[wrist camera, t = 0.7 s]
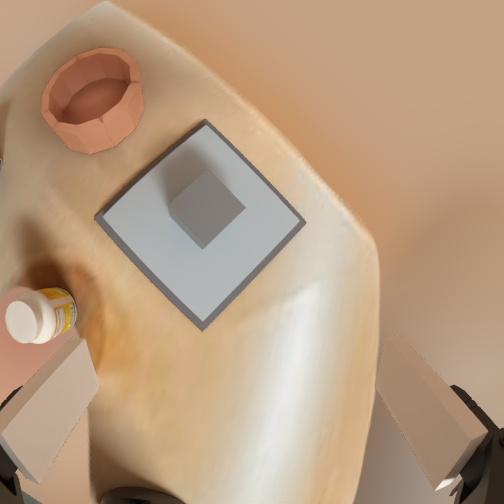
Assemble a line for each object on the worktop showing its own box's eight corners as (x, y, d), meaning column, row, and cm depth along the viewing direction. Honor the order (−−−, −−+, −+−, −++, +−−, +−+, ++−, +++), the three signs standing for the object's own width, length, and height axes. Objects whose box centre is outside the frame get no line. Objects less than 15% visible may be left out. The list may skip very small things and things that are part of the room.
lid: (202, 319, 32) (207, 334, 25) (105, 218, 30) (85, 206, 23) (296, 222, 35) (323, 212, 28) (205, 128, 33) (212, 98, 26)
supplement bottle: (85, 317, 29) (53, 335, 20) (56, 338, 28) (19, 360, 19) (62, 278, 29) (24, 281, 19) (34, 300, 27) (-8, 310, 18)
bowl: (89, 172, 30) (71, 154, 23) (46, 118, 28) (27, 95, 22) (162, 110, 32) (160, 81, 26) (112, 64, 31) (105, 35, 24)
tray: (202, 330, 32) (202, 331, 32) (95, 219, 30) (93, 218, 29) (305, 223, 36) (306, 222, 35) (205, 120, 33) (206, 119, 33)
